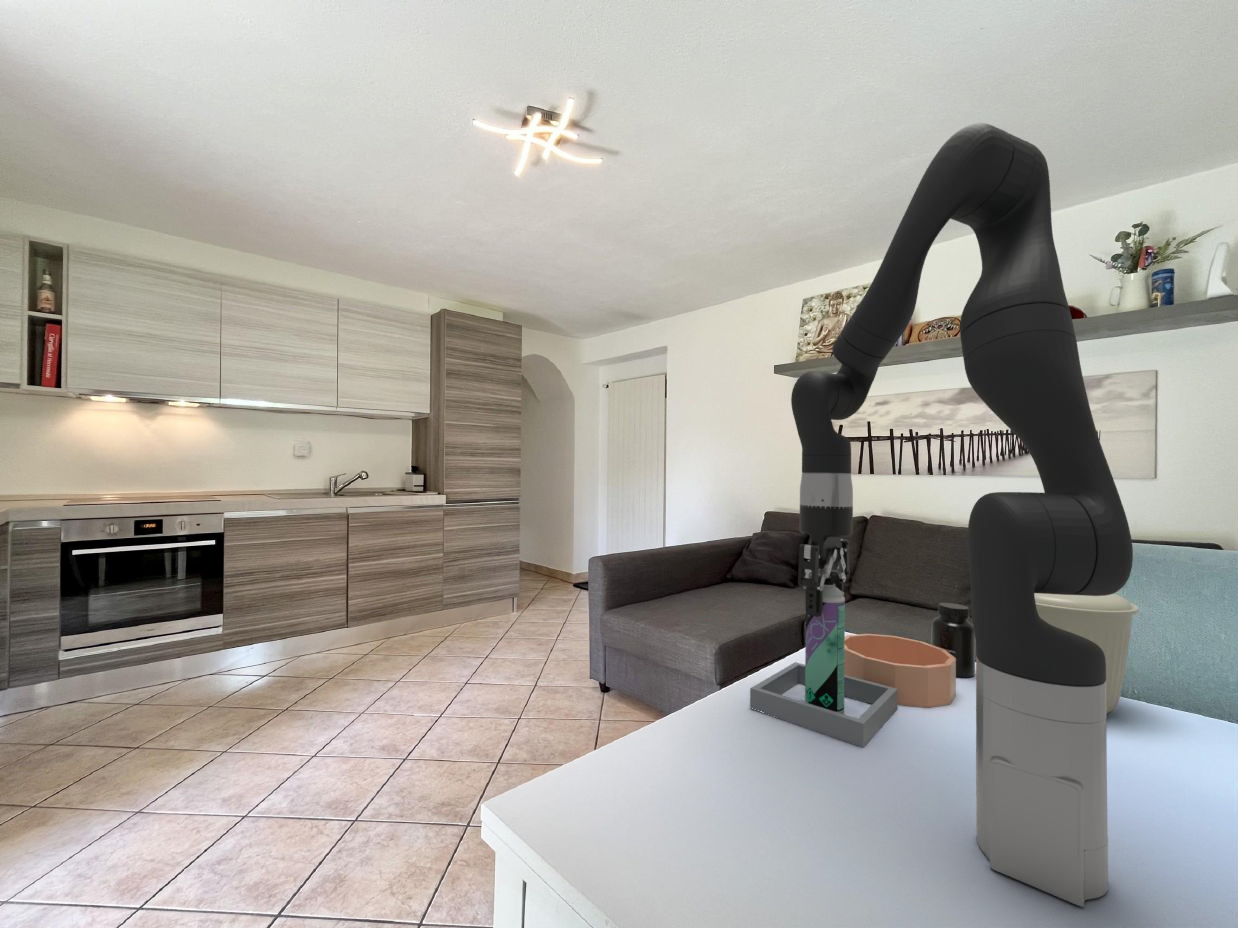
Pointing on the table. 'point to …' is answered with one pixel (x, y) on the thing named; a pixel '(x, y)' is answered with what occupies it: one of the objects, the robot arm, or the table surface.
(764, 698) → the parts tray
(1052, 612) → the canister
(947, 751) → the table surface
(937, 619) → the supplement bottle
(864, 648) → the bowl
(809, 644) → the spray can
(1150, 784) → the table surface
